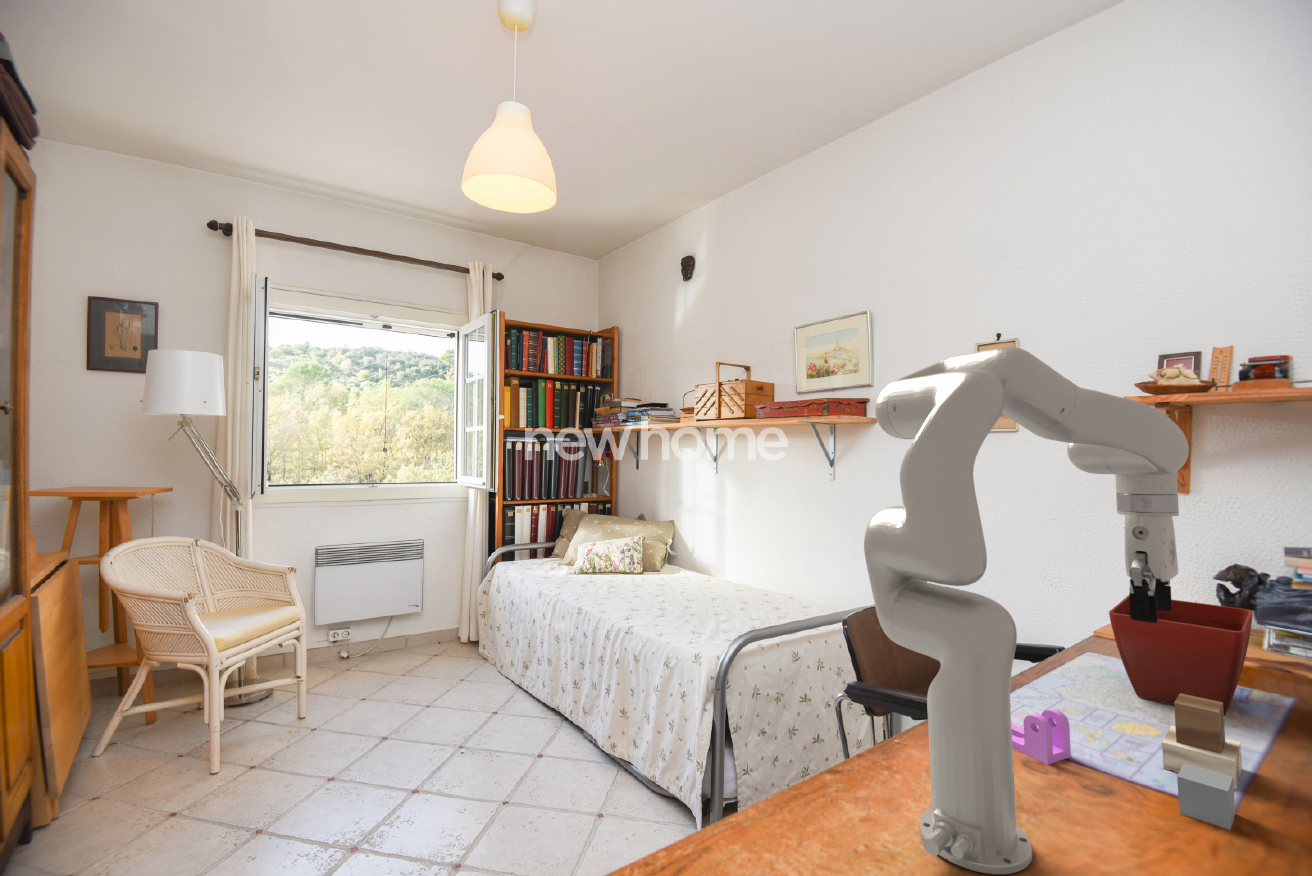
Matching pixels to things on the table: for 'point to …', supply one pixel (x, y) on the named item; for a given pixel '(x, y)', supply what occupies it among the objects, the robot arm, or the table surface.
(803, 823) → the table surface
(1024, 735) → the bracket
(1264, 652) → the table surface
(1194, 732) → the walnut block
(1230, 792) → the grey block
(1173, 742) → the birch block
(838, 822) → the table surface
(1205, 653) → the plant pot
